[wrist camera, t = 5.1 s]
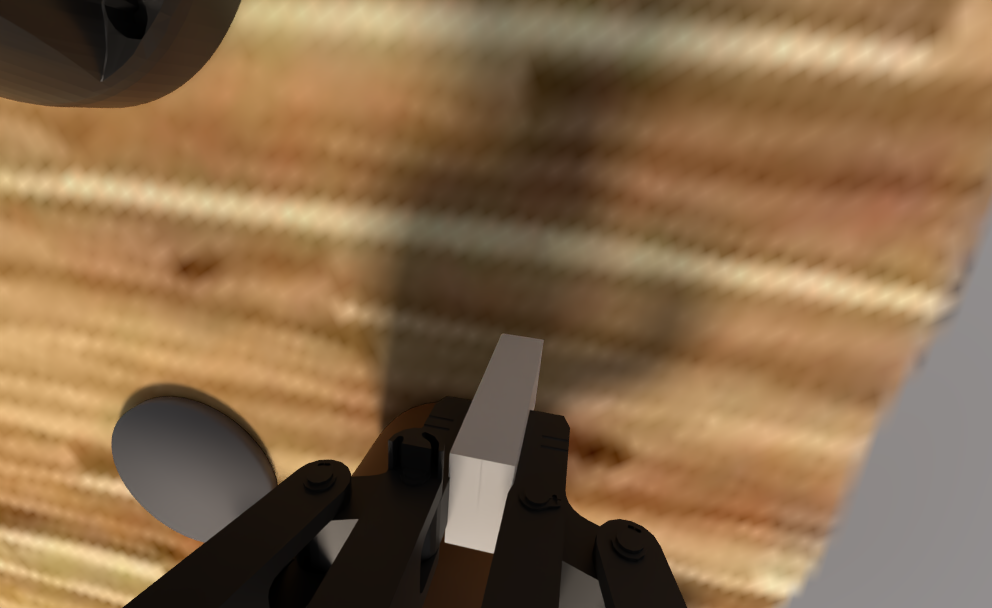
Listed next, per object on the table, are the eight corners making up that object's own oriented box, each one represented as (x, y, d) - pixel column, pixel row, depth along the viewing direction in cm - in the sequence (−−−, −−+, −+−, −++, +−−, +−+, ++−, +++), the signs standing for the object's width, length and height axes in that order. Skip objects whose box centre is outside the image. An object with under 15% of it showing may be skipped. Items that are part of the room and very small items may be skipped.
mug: (657, 409, 18) (718, 675, 9) (641, 554, 21) (676, 860, 12) (369, 387, 20) (205, 585, 12) (389, 520, 23) (269, 759, 14)
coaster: (104, 381, 23) (92, 388, 23) (268, 415, 22) (260, 422, 21) (142, 516, 27) (132, 524, 26) (285, 551, 25) (278, 561, 25)
